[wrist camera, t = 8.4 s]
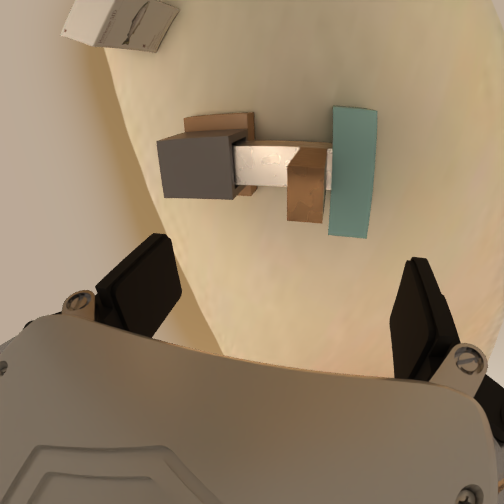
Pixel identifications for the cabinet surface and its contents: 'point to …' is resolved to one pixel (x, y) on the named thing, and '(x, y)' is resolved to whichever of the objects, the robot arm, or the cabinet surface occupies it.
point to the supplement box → (119, 23)
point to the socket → (352, 170)
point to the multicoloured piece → (287, 172)
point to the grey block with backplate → (204, 157)
